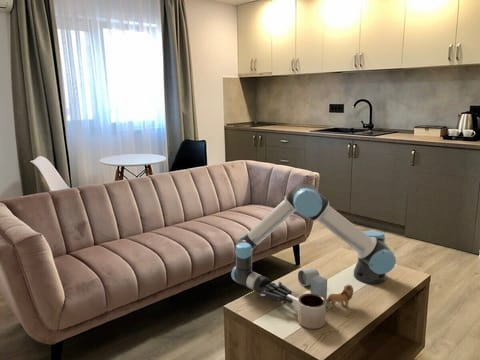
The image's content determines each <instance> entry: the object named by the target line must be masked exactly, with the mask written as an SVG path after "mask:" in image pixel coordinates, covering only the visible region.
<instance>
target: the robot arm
mask: <svg viewBox="0 0 480 360" xmlns="http://www.w3.org/2000/svg"><path fill="white" fill-rule="evenodd" d="M283 198H284V199H283V200H282V201H281V202H280V203H279V204H278V205H276V207H275V208H273V209H272V210H271V211H270V212H269V213H268V214H266V216H265V217H263V219H261V221H259V222H258V223H257V224H256V225H255V226H254V227H253V228H252V229H251V230H249V232H248V233H246V234H245V235H242V236H240V237H239V239H238V241H237V244H236V245H235V252H234V253H235V254H234V255H235V266H234V267H233V268H232V271H231V273H230V274H231V275H230V276H231V279H232V280H233V281H234V282H236V283H237V284H239V285H242V286H244V287H246V288H248V289H250V290H252V291H254V292H255V293H258V294H259V295H260V298H263V299H268V300H271V301H274V302H277V303H282V302H283V304H286V303H288V304H291V305H293V306H295V307H297V308H298V299H299V297H296V296H295V295H293V294H292V293H293V292H292V290H291V289H289V288H288V287H287V286H285V285H284V284H283V283H282V282H281V281H279V282H278V283H275V282H272V281H271V280H270V279H269V278H268V277H267V276H263V275H261V274H259V273H257V272H255V271H253V251H254V249H255V248H256V247H257V246H259V244H260V243H262V242H263V241H264V240H265V239H266V238H267V237H269V235H270V234H272V233H273V232H274V231H275V230H276V229H277V228H278V227H279V226H280V225H282V223H284V222H285V221H286V220H287V219H288V218H289V217H291V215H293V214H294V213H295V212H297V213H298V214H299V215H300V216H302V217H306V218H307V219H309V220H311V222H318V223H319V224H321V225H322V226H323V227H324V228H326V230H328V231H330V232H331V233H332V234H334V235H335V236H336V237H337V238H338V239H340V240H341V241H343V242H344V244H347V246H349V247H350V248H351V249H353V250H354V251H355V252H357V262H356V264H355V266H354V269H353V277H354V278H355V279H356V280H358V281H359V282H362V283H364V284H371V285H375V284H376V285H377V284H382V283H384V282H385V281H386V279H387V274H388V273H389V272H391V271H392V270H393V269H394V268H395V266H396V262H397V261H396V256H395V253H394V252H393V251H392V250H391V249H390V247H389V246H388V245H387V244H386V240H385V239H386V235H385V233H384V232H380V231H376V230H365V231H362V230H361V229H360V228H359V227H358V226H356V225H355V224H353V223H352V222H351V221H350V220H348V219H347V218H346V217H345V216H343V215H342V214H341V213H340V212H338V211H337V210H336V209H334V208H333V207H332V206H331V205H330V201H329V200H328V198H326V197H324V195H322V194H321V193H320V192H319V191H318V190H317V188H316V187H315V186H314V185H313V184H312V183H310V182H305V181H304V182H299V183H297V184H296V185H294V187H293V188H292V189H290V190H289V192H287V193H286V195H284V197H283Z"/></svg>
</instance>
